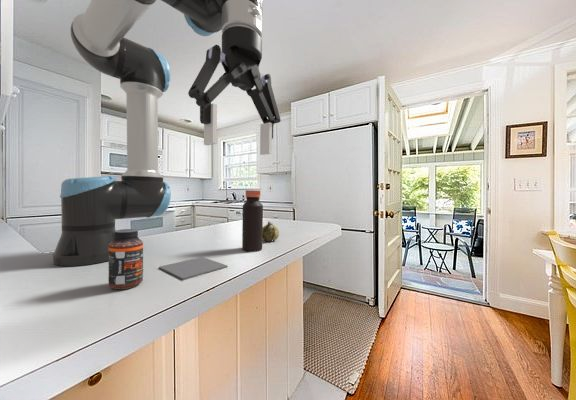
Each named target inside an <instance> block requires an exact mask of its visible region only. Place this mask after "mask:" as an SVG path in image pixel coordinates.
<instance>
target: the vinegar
mask: <svg viewBox="0 0 576 400" xmlns="http://www.w3.org/2000/svg"><path fill="white" fill-rule="evenodd" d="M260 198H261V190H245V199H246V201H245V202H244V203H243V204H242V223H241V224H242V230H241V231H242V233H241V234H242V235H241V236H242V237H241V239H242V242H241V243H242V246H241V248H242V250H243V251H244V250H245V251H244V252H250V251H254V252H259V251H258V250H260V251H262V250H263V239H262V235H263V227H264V225H263V223H264V221H263V220H264V219H263V217H264V215H263V214H264V211H263V210H264V205H263V204H262V203H261V201H260Z"/></svg>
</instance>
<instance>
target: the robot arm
mask: <svg viewBox="0 0 576 400" xmlns="http://www.w3.org/2000/svg"><path fill="white" fill-rule="evenodd" d="M156 1H157V0H91V1H90V2H89V4H88V6H87V8H86V9H85V11H84V12H83V13H79V14H76V16H75V17H74V18H73V20H72V23H71V25H70V38H71V40H72V43H73V45H74V47H75V50H76V51H77V52H78V54H79V55H80V56H81V57H82V59H83V60H84V61H85V62H86V63H88V64H89V65H90V66H91V67H92V68H94V69H95V70H97V71H98V72H100V73H102V74H104V75H106V76H110V77H112V78H116V79H118V80H119V82H120V83H119V84H120V88H121V89H122V90H123V92H124V93H125V95H126V100H125V101H126V159H127V160H126V164H127V165H126V167H127V168H126V171H125V172H123V173H122V174H121V176H120V177H121V180H116V178H115V176H114V175H106V176H89V177H73V178H66V179H65V180H63V181H62V182H61V185H60V195H59V198H60V201H61V205H60V207H61V211H60V212H61V234H60V237H59V240H58V241H57V245H56V246H55V250H54V252H53V255H52V263H53V265H56V266H61V267H62V266H63V267H74V266H75V267H76V266H86V265H93V264H98V263H104V262H109V244H110V243H111V242H112V241H113V240H114V239H115V237H114V236H115V231H116V220H124V219H137V218H148V219H149V218H152V217H160V216H162V215H164V214H165V213H166V211H167V210H168V208H169V206H170V202H171V197H172V195H171V194H172V193H171V189H170V188H171V187H170V185H169V184H168V183H167V182H166V181H164V176H163V175H162V174H161V173H160V172H159V130H158V129H159V125H158V124H159V120H158V119H159V117H158V116H159V114H158V112H159V111H158V110H159V109H158V108H159V105H158V103H159V101H158V100H159V99H160V98H161V97H162V96H163V95H164V93H165V92H167V91H168V89H169V87H170V82H171V69H170V65H169V63H168V61H167V58H166V57H165V56H164V55H163V54H161V53H160V52H158V51H156V50H154V49H153V48H150V47H148V46H144V45H142V44H140V43H138V42H135V41H132V40H131V39H128V38H127V37H125V36H126V35H127V34H128V33H129V31H130V30H131V29H132V28H133V27H134V26H135V24H136V23H137V22H138V21H139V20H140V19H141V17H143V16H144V14H145V13H146V12H147V11H148V10H149V9H150V7H151V6H152V5H153V4H154V3H156ZM160 1H162V2H163V3H164V4H167V5H168V6H170V7H172V8H174V9H175V10H177V11H179V12H180V13H182V14H183V17H184V19H185V21H186V23H187V25H188V26H189V27H190V28H191V29H192V30H193V32H194V33H195V34H197V35H198V36H202V37H209V36H212V35H213V34H215V33H218V32H220V31H221V33H222V34H221V46H220V45H219V44H214V45H213V46H211V47H210V48H208V49H207V50H206V52H205V53H206V55H205V61H204V63H203V65H202V67H201V69H200V71H199V72H198V74H197V75H196V77H195V79H194V81H193V83H192V84H191V86H190V88H189V90H188V92H187V94H188V96H189V98H190V99H194V100H195V104H196V105H197V107H199V122H200V124H201V125H202V124H203V145H204V146H211V145H217V143H218V137H217V136H218V133H217V132H218V129H217V128H218V116H217V115H218V104H215V103H212V102H213V101H215V99H216V98H217V97H219V95H220V94H222V92H223V91H224V90H225V89H226V88H227V87H228V86H229V85H230V84H231V87H235V88H239V89H240V90H241V91H243V92H246V94H247V96H248V97H250V99H251V101H252V103H253V105H254V107H255V109H256V111H257V113H258V115H259V117H260V119H261V121H262V123H260V137H259V138H260V139H259V140H260V143H259V144H260V145H259V155H262V156H266V155H272V153H273V151H272V147H273V145H272V144H273V143H272V142H273V139H274V125H275V124H278V123H280V122H282V120H281V117H280V113H279V109H278V104H277V102H276V98H275V95H274V90H273V87H272V77H271V74H270V73H266V74H264V73H261V70H260V64H261V61H262V58H263V57H262V56H263V39H262V38H263V3H264V2H263V1H264V0H160ZM220 63H221V65H222V68H223V70H224V73H223V74H222V75H220V77H219V78H218V79H217V81H215V83H213V84H212V85H211V86H210V87H209V88H208V89H207V90H206V91H205V89H206V88H207V86H208V84H209V82H210V80H211V79H212V76H214V73H215V71H216V69H217V68H218V66H219V64H220Z"/></svg>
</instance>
